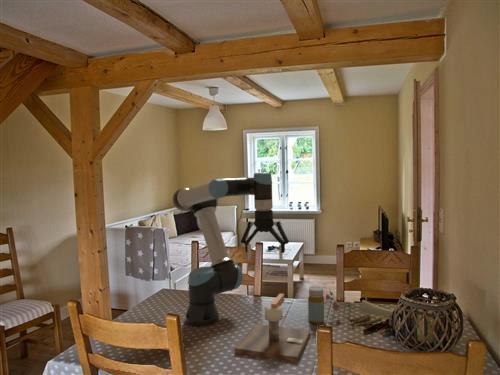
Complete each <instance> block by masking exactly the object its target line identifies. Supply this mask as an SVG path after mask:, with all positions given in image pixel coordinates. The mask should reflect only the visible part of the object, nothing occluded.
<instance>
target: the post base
mask: <svg viewBox="0 0 500 375" xmlns="http://www.w3.org/2000/svg"><path fill="white" fill-rule="evenodd" d="M310 336H311V330H308V329H302V328H293V327H283V326H280V321H277V322H270V321H268V325H267V324H259V323H254V324H253V326H252V327H251V328H250V329H248V331H247V332H246V334H245V335H244V336H243V337H242V339H241V340H240V341H239V342H238V343H237V344H236V345H235V347H234V354H237V355H242V356H243V355H244V356H250V357H258V358H265V359H269V360H271V359H272V360H276V361H277V360H278V361H284V362H292V363H298V362H299V360H300V358H301V356H302V354H303V351H304V349H305V347H306V344H307V343H308V341H309V338H310ZM307 340H308V341H307ZM301 353H302V354H301Z"/></svg>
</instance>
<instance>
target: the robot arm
mask: <svg viewBox="0 0 500 375" xmlns="http://www.w3.org/2000/svg"><path fill="white" fill-rule="evenodd" d="M235 196H237V197H238V196H254V197H253V199H254V201H253V202H254V221H252V220H249V221H247V224H246V226H247V227H246V228H245V231H244V232H243V236H242V237H241V240H240V243H241V244H244V246H245V250H244V251H245V253H247V260H248V261H250V260H252V243H251V241H252V240H253V238H254V237H255V236H256V235H257V233H263V232H264V233H270V234H271V235H272V236H273V237H274V239H275V240H276V241H277V242H278V243H279V246H278V251H279V252H278V257H279V261H278V262H282V261H283V260H284V259H283V254H284V253H285V251H286V250H285V249H286V248H285V246H286V245H288V243H289V242H290V241H289V239H288V236H287V235H286V233H285V231H284V228H283V227H282V223H281V221H280V220H278V221H274V211H273V180H272V174H271V173H270V172H255V173H253V177H234V178H233V177H232V178H216V179H215V178H214V179H212V180H210V182H208V183H204V184H201V185H197V186H195V187H182V188H180V189H177V190H176V191H175V192H174V193H173V196H172V203H173V205H174V207H175V208H176V209H178V210H180V211H182V212H193V215H194V217H196V218H198V222H199V225H200V228H201V232H202V235H203V238H204V242H205V245H206V249H207V251H208V255H209V258H210V262H211V264H210V266H200V267H197V268H194V269H192V270H191V271H190V272H189V274H188V281H187V284H188V306H187V310H186V314H185V323H186V324H187V325H189V326H193V327H206V326H207V327H208V326H211V325H214V324H216V323H218V322H219V319H220V313H219V311H218V307H217V306H216V303H215V301H216V300H215V298H216V297H215V296H216V295H219V294H222V293H227V292H231V291H234V290H236V289H238V288H240V286H241V285H242V282H243V271H242V268H241V267H240V266H239V264H238V263H237V264H236V263H235V262H234V259H232V258H231V257H230V256H229V254H228V250H227V248H226V244H225V241H224V238H223V236H222V232H221V229H220V226H219V223H218V218H217V215H216V211H217V206H218V204H219V199H222V198H227V197H235ZM274 225H275V227H276V228H277V231H278V232H279V234H280V235H279V234H278V233H277V232H276V230H275V229H274ZM253 226H254V227H255V229H254V230H253V231H252V233H251V234H250V235H249V233H250V231H251V229H252V227H253ZM248 235H249V237H248Z"/></svg>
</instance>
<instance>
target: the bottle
mask: <svg viewBox="0 0 500 375" xmlns="http://www.w3.org/2000/svg"><path fill="white" fill-rule="evenodd" d="M307 300H308V301H307V309H308V310H307V312H308V313H307V314H308V315H307V318H308V322H309V323H311V324H313V325H321V324H323V323H325V298H324V288H323V287H321V286H310V287H309V288H308V298H307Z"/></svg>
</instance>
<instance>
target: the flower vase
mask: <svg viewBox="0 0 500 375" xmlns="http://www.w3.org/2000/svg"><path fill="white" fill-rule="evenodd" d="M331 296H334V295H333V291H331V290H329V294H328V293H327V294H326V296H325V299H326V301H331V302H330V304H332V307H333V311H334V312H336V313H337V312H338V311H339V309H340V305H339V304H338V302H337V301H339V302H341V303H342V304H343V305H342V307H343V308H344V309H345V308H346V307H347V308H349V309H348V310H349V311H348V312H346V315H345V317H347V316H348V318H349V319H351V316H352V315H353V314H354V312H353V310H354V309H356V310H355V311H356V312H359V313H360V314H365V315H374V316H379V317H380V316H381V317H383V318H386V319H389V318H390V315H391V313H392V312H393V311H394V310H392V309H387V308H384V307H381V306H377V305H375V304H373V303H372V302H369V301H367V300H366V299H365V300H364V299H362V301H361V303H360V307H356V306H353V305H352V304H350V302H347V303H346V297H344V301H345V302H344V301H343V299H342V297H341V298H340V299H337V298H334V297H331ZM344 304H345V305H344ZM351 308H352V309H351ZM357 309H358V310H359V311H358V310H357Z"/></svg>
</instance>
